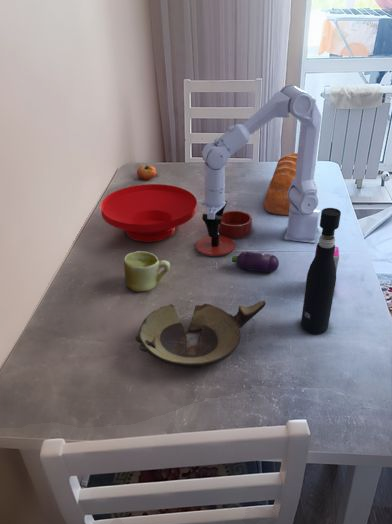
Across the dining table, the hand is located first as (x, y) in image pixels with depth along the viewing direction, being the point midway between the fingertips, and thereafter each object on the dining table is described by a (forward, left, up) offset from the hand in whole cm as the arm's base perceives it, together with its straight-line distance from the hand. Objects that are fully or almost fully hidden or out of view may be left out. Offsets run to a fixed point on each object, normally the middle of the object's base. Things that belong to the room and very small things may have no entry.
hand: (215, 230), depth 145 cm
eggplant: (-15, +9, -6) cm, 18 cm away
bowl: (+24, -6, -6) cm, 25 cm away
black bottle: (-33, +31, -6) cm, 46 cm away
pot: (-3, -12, -6) cm, 14 cm away
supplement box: (-33, +14, -6) cm, 37 cm away
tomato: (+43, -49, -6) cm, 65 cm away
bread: (-16, -42, -6) cm, 46 cm away
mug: (+13, +24, -6) cm, 28 cm away
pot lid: (0, 0, -5) cm, 5 cm away
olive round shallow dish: (-9, +45, -6) cm, 46 cm away
